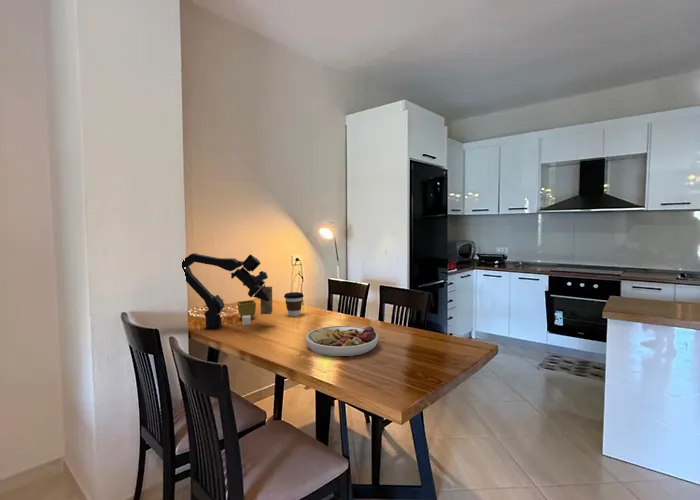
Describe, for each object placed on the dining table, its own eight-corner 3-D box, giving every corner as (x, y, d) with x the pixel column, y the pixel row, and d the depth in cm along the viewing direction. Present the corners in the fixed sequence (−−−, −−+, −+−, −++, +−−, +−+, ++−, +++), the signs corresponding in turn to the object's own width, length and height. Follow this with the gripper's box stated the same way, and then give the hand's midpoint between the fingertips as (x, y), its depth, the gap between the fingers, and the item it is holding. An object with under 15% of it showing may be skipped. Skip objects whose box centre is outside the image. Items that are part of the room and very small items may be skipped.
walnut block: (260, 314, 186) (260, 288, 185) (262, 312, 191) (262, 286, 190) (270, 314, 186) (270, 288, 186) (272, 311, 191) (272, 286, 191)
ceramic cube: (242, 325, 192) (242, 317, 191) (242, 323, 196) (242, 315, 195) (250, 324, 193) (250, 317, 192) (250, 322, 197) (250, 315, 196)
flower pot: (237, 317, 208) (236, 301, 207) (253, 315, 211) (253, 299, 211) (239, 321, 200) (239, 304, 199) (256, 319, 203) (256, 302, 203)
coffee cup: (283, 313, 216) (282, 292, 215) (302, 312, 219) (301, 291, 218) (285, 318, 205) (285, 296, 204) (305, 316, 209) (305, 295, 208)
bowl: (313, 363, 140) (312, 342, 139) (301, 339, 169) (300, 322, 168) (388, 355, 148) (388, 335, 147) (365, 333, 177) (365, 317, 176)
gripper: (254, 268, 177) (278, 291, 179) (260, 264, 196) (282, 285, 198) (237, 285, 177) (262, 308, 179) (245, 279, 196) (267, 300, 198)
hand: (269, 299), depth 188 cm, fingers closed on walnut block, 5 cm apart
